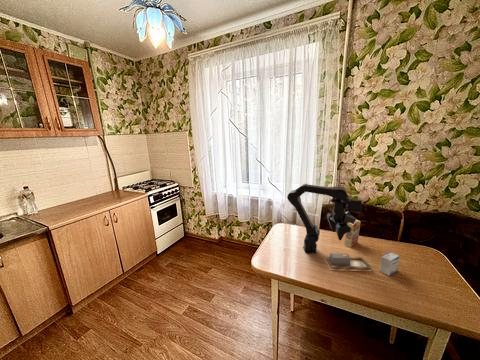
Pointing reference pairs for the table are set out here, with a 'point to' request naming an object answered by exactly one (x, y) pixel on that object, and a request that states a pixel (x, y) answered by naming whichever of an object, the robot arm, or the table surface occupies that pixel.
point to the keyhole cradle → (351, 265)
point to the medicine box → (389, 263)
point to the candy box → (352, 233)
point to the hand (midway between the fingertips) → (336, 235)
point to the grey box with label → (340, 259)
